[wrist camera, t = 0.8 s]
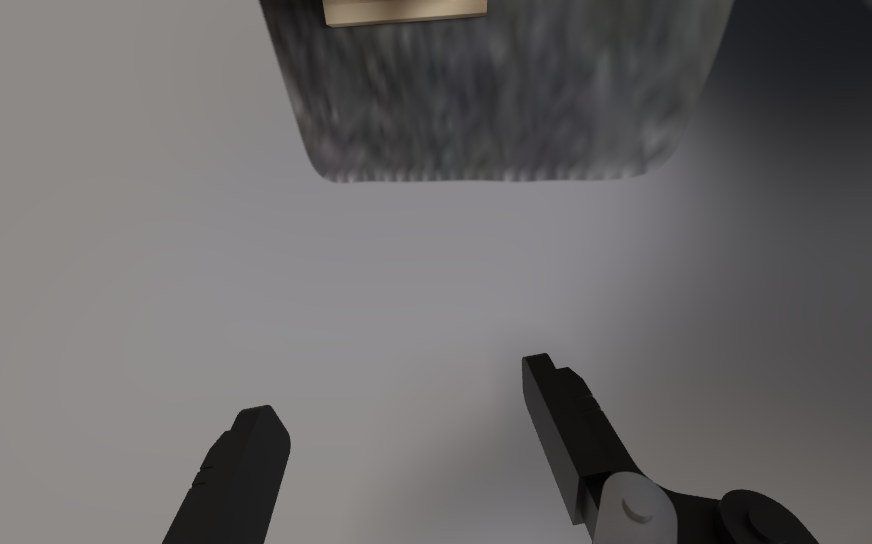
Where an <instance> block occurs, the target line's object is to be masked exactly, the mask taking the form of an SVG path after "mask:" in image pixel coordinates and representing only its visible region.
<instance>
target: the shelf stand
mask: <svg viewBox="0 0 872 544" xmlns="http://www.w3.org/2000/svg"><path fill="white" fill-rule="evenodd" d="M323 6H324V12H325V19H326V25H329V26H331V27H346V26H360V25H373V24H387V23H400V22H413V21H427V20H440V19H454V18H467V17H480V16H486V13H487V0H323Z"/></svg>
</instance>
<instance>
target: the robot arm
mask: <svg viewBox="0 0 872 544" xmlns="http://www.w3.org/2000/svg"><path fill="white" fill-rule="evenodd" d="M522 379H523V393H524V398H525V402H526V406H527V409H528V411H529V414H530V416H531V419H532V421H533V424H534V426H535V429H536V432H537V434H538V437H539V439H540V442H541V444H542V447H543V449H544V452H545V455H546V457H547V459H548V462H549V465H550V467H551V470H552V472H553V475H554V477H555V480H556V483H557V485H558V488H559V490H560V493H561V495H562V498H563V500H564V503H565V506H566V508H567V511H568V513H569V516H570V518H571V521H572V523H573V525H577V524H582V523H585V525H586V527H587V530H588V532H589V535H590V537H591V539H592V544H819V543H818V541H817V540H816V539H815V538H814V537H813V536H812V534H811V533H810V532H809V531H808V530H807V529H806V527H805V526H804V525H803V524H802V523H801V522H800V521H799V519H798V518H797V517H796V516H795V515H793V514H792V513H791V512H790V511H789V510H788V509H786V508H785V507H784V506H782V505H781V504H780V503H778V502H776V501H775V500H773V499H771V498H769V497H767V496H765V495H763V494H760V493H758V492H754V491H750V490H742V489H741V490H733V491H730V492H728V493H726V494H725V495H724V496H723V498H722V500H717V499H710V498H704V497H698V496H692V495H686V494H680V493H676V492H673V491H670V490H667V489H665V488H663V487H661V486H659V485H658V484H656V483H654V482H653V481H652V480H650V479H649V478H648V477H646V476H645V475H644V474H643V473H642V472H641V470H640V469H639V468H638V467H637V466H636V465H635V463H634V461H633V460H632V458H631V457H630V455H629V454H628V452H627V450H626V448H625V447H624V445H623V444H622V442H621V440H620V439H619V437H618V435H617V434H616V432H615V430H614V429H613V427H612V426H611V424H610V423H609V421H608V419H607V417H606V416H605V414H604V413H603V411H601V408H600V406H599V404H598V403H597V401H596V400H595V399H594V398H593V396H592V393H591V391H590V390H589V388H588V387H587V385H586V383H585V382H584V380H583V379H582V378H581V377H580V376H578V375H577V374H576V373H575V372H574V371H572V370H571V369H570V368H569V367H566V368H560V369H556V368H555V366H554V364H553V362H552V361H551V359H550V357H549V355H548V354H547V353H542V354H537V355H532V356H527V357H523V358H522ZM290 446H291V442H290V436H289V433H288V431H287V430H286V428H285V427H284V425H283V424H282V422H281V421H280V419H279V417H278V416H277V415H276V413H275V411H274V410H273V408H272V407H271V406H270V405H264V406H259V407H254V408H249V409H244V410H242V411H241V412H239V414H238V415H237V417H236V419H235V421H234V424H233V426H232V428H231V430H229V431H225V432H224V433H223V434H222V435H221V436H220V438H219V439H218V440H217V441H216V443H215V444H214V445H213V446H212V447H211V448H210V450H209V452H208V453H207V455H206V457H205V459H204V461H203V463H202V465H201V467H200V472H198V473H197V475H196V477H195V479H194V481H193V483H192V488H191V489H189V491H188V493H187V495H186V497H185V499H184V501H183V503H182V505H181V507H180V509H179V511H178V513H177V515H176V517H175V519H174V521H173V523H172V524H171V526H170V528H169V531H168V532H167V534H166V536H165V538H164V540H163V542H162V544H264V541H265V537H266V534H267V530H268V527H269V523H270V520H271V516H272V513H273V509H274V506H275V503H276V499H277V496H278V492H279V489H280V485H281V481H282V478H283V475H284V471H285V468H286V464H287V461H288V457H289V454H290Z"/></svg>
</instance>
